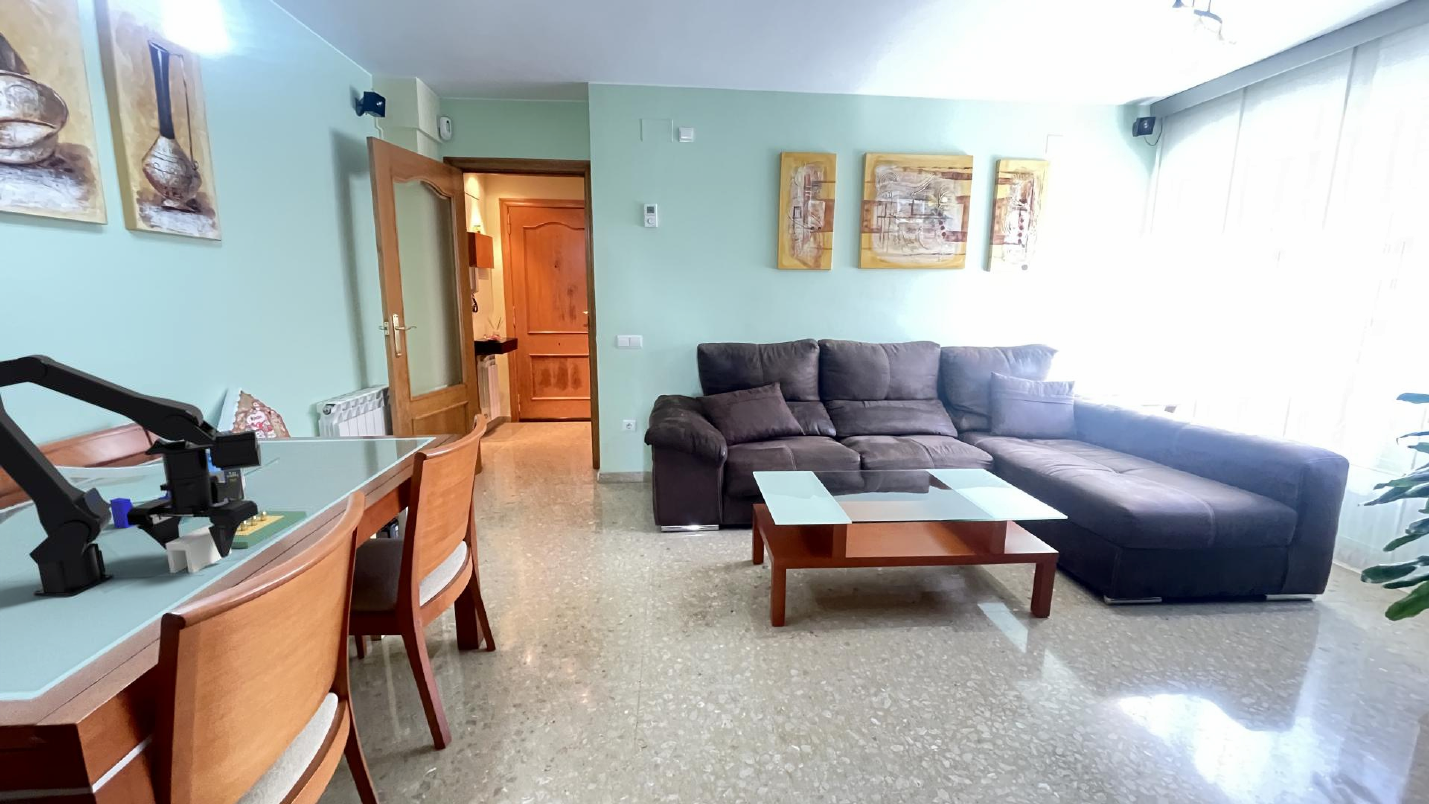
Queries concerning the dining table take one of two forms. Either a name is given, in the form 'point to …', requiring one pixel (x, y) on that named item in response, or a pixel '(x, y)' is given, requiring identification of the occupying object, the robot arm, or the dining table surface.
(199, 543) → the box
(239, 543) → the board
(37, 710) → the dining table surface
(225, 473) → the label tape box
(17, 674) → the dining table surface
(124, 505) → the blue cradle block
